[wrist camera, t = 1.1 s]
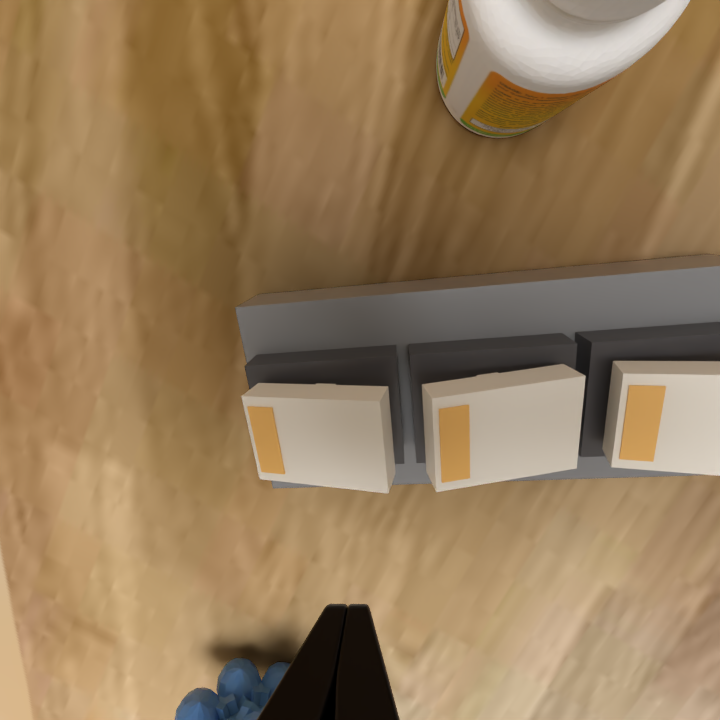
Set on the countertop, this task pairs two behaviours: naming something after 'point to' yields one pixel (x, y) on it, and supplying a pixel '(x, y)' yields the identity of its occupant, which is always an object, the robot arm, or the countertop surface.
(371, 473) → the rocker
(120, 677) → the countertop surface
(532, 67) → the supplement bottle
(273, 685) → the grapes
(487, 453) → the middle rocker
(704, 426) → the block
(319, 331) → the rocker switch strip
